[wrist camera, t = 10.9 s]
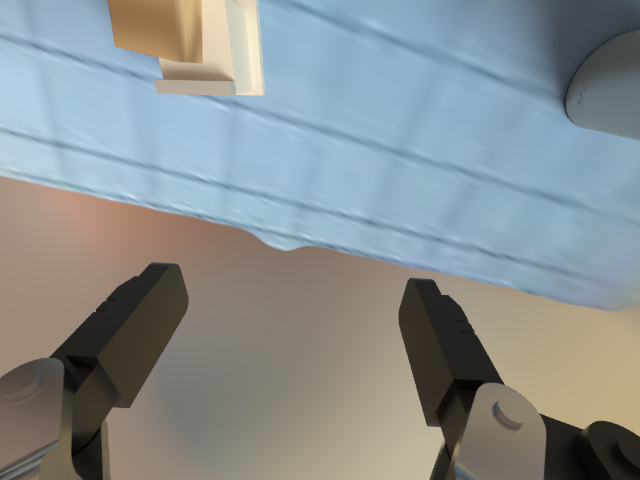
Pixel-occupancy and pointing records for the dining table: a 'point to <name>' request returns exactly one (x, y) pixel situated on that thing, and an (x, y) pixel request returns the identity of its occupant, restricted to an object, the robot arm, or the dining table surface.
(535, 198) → the dining table surface
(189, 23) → the bar
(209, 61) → the display stand
